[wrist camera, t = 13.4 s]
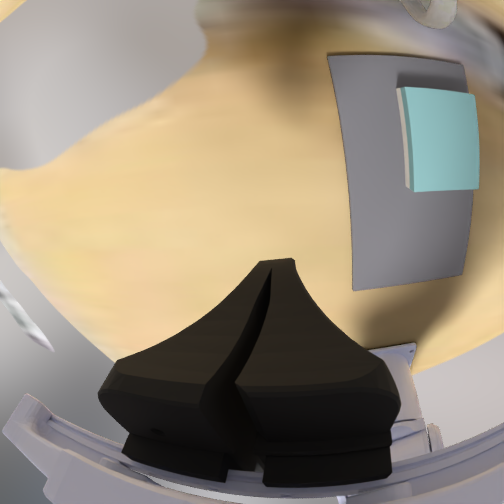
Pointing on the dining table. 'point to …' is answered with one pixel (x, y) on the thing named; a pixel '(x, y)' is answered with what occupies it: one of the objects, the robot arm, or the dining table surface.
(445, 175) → the plate
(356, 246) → the mat
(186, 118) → the dining table surface
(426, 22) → the teacup
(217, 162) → the dining table surface
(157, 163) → the dining table surface
